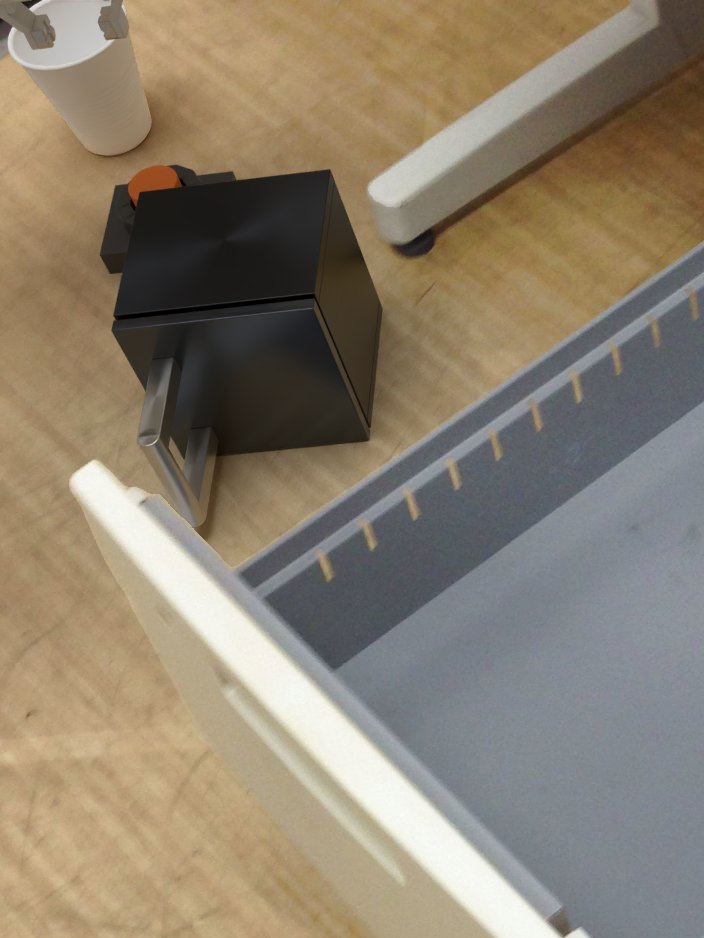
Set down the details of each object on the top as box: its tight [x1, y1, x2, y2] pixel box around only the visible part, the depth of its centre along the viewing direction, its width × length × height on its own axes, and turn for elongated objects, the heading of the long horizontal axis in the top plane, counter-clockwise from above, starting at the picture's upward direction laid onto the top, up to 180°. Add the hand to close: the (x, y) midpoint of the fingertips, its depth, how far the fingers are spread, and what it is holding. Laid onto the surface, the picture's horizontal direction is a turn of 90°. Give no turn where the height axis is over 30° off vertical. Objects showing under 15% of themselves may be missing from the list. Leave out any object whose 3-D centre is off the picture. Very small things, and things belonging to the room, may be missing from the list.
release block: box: [99, 164, 237, 275], centre depth 144 cm, size 10×8×4 cm
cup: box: [6, 0, 153, 157], centre depth 149 cm, size 10×10×11 cm
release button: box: [128, 164, 182, 206], centre depth 142 cm, size 4×4×2 cm
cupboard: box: [112, 168, 384, 429], centre depth 129 cm, size 12×14×14 cm
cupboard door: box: [110, 298, 371, 529], centre depth 123 cm, size 9×14×14 cm, turn 90°
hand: (81, 38), depth 130 cm, fingers open, 4 cm apart
